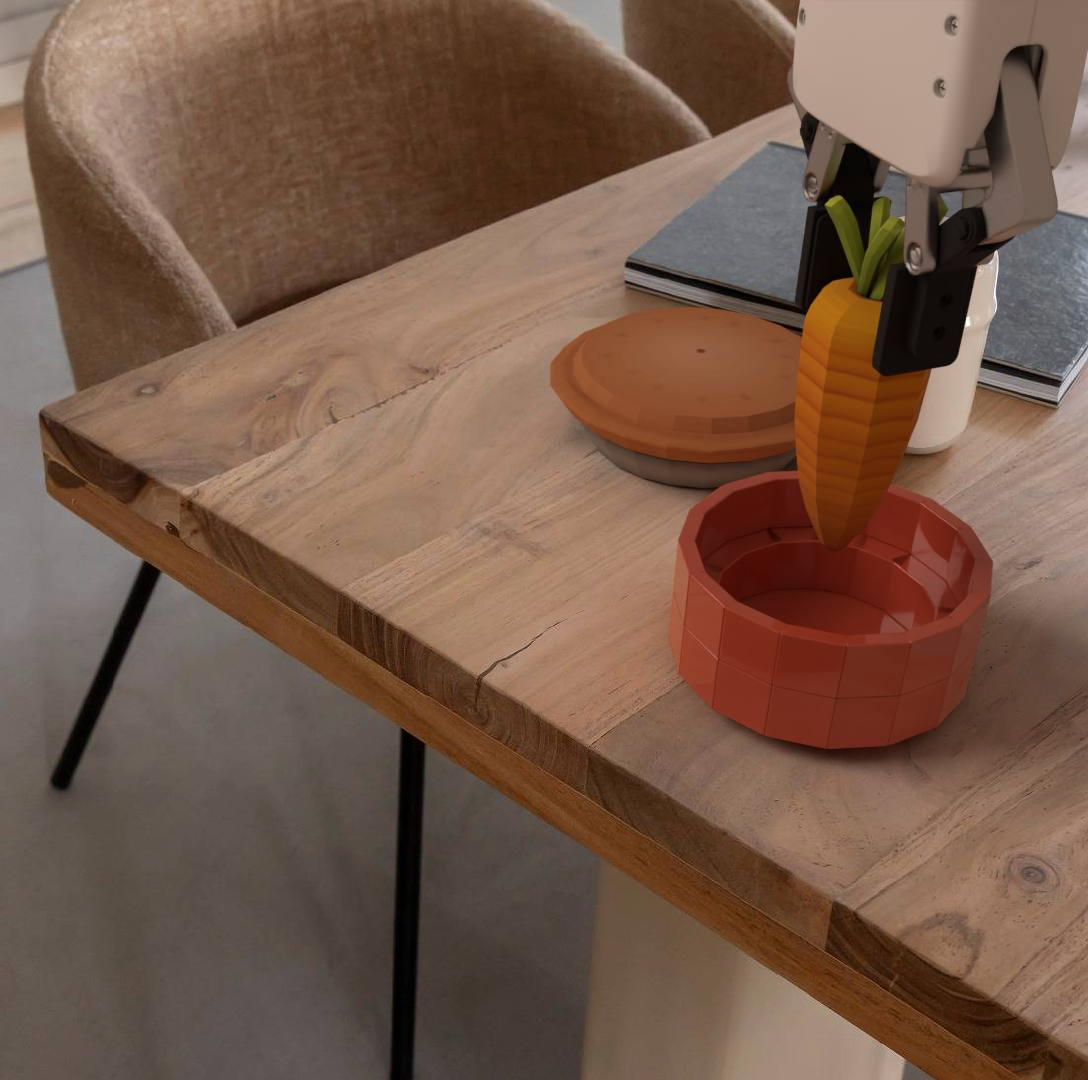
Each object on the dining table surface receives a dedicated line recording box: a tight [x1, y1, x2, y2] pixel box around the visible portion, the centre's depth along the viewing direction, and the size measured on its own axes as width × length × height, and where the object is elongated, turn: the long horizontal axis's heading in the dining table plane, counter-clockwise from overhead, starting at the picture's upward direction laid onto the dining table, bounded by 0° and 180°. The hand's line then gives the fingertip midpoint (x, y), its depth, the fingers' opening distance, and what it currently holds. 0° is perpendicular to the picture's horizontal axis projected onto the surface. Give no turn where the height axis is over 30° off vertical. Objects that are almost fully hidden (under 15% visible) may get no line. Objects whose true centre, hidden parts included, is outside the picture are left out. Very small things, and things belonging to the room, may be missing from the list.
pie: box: [549, 306, 802, 489], centre depth 76 cm, size 16×16×5 cm
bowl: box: [667, 470, 994, 750], centre depth 60 cm, size 12×12×6 cm
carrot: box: [795, 196, 949, 552], centre depth 54 cm, size 5×5×15 cm
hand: (872, 330), depth 53 cm, fingers closed on carrot, 4 cm apart
